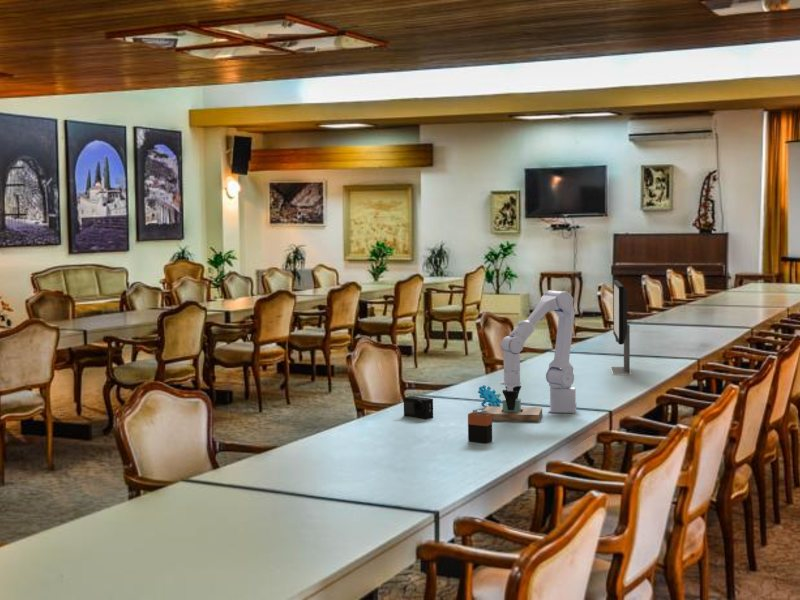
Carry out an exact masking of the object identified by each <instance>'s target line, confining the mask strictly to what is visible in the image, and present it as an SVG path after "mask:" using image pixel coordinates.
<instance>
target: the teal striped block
mask: <svg viewBox="0 0 800 600" xmlns="http://www.w3.org/2000/svg"><path fill="white" fill-rule="evenodd" d="M521 402H522V399H521V398H519V397H518V398H516V402H515V408H514V410H508V408H507V403H506V399H505V397H504V398H503V399H502V407H503V412H521V407H522V405H521V404H522V403H521Z"/></svg>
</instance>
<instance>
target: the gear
mask: <svg viewBox="0 0 800 600" xmlns="http://www.w3.org/2000/svg"><path fill="white" fill-rule="evenodd" d="M478 389H479V390H478V391H477V393H478V394H479V398H480V399H483V400H482V402H481V403H480V404H481V406H484V405H485V404H486V403H487V402H488V404H487V405H488V406H496V407H500V406H501V401H502V399H500V397H501V395H502V394H501V393H498V394H496V392H497V391H496V390H495V389H493V390H491V389H492V387H491V386H486V385H482V386H479V387H478Z"/></svg>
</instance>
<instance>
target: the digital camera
mask: <svg viewBox="0 0 800 600" xmlns="http://www.w3.org/2000/svg"><path fill="white" fill-rule="evenodd" d="M403 417H407V418H413V419H414V418H415V419H420V420H428V419H433V418H434V398H430V397H422V396H416V395H409V396H408V395H407V396H404V397H403Z"/></svg>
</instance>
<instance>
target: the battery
mask: <svg viewBox="0 0 800 600" xmlns="http://www.w3.org/2000/svg"><path fill="white" fill-rule="evenodd" d="M487 412H488V411H486V410H485V409H484V410H481V411H478V410H477V409H473V410H472V412H470V413H468V414H467V440H468V442H470V443H478V444H479V443H480V444H488V443H490V442H492V441H493V421H492V414H491V413H487Z"/></svg>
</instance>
